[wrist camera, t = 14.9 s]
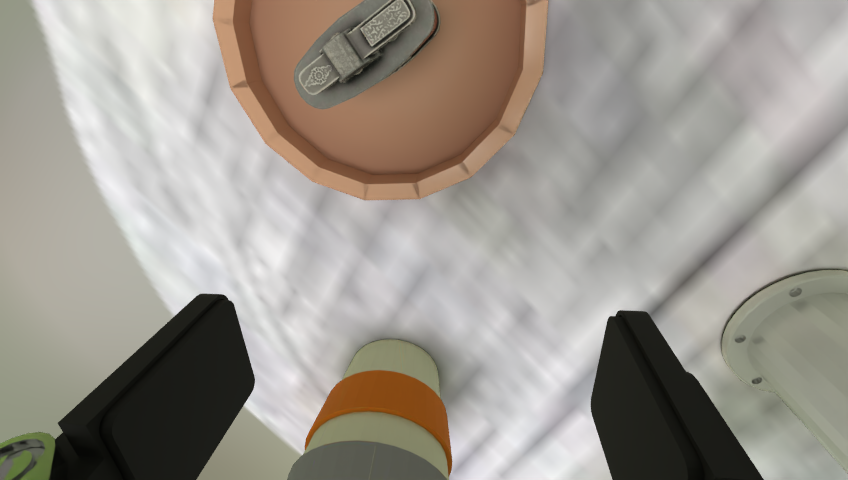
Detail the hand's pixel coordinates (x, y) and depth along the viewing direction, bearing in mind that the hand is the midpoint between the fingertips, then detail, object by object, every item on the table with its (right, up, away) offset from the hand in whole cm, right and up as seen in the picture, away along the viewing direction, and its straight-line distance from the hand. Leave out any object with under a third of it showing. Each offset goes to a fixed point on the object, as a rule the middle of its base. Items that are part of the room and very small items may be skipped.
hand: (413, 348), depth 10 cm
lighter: (-2, +16, +16) cm, 23 cm away
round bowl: (-2, +16, +17) cm, 23 cm away
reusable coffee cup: (-3, -11, +31) cm, 33 cm away
